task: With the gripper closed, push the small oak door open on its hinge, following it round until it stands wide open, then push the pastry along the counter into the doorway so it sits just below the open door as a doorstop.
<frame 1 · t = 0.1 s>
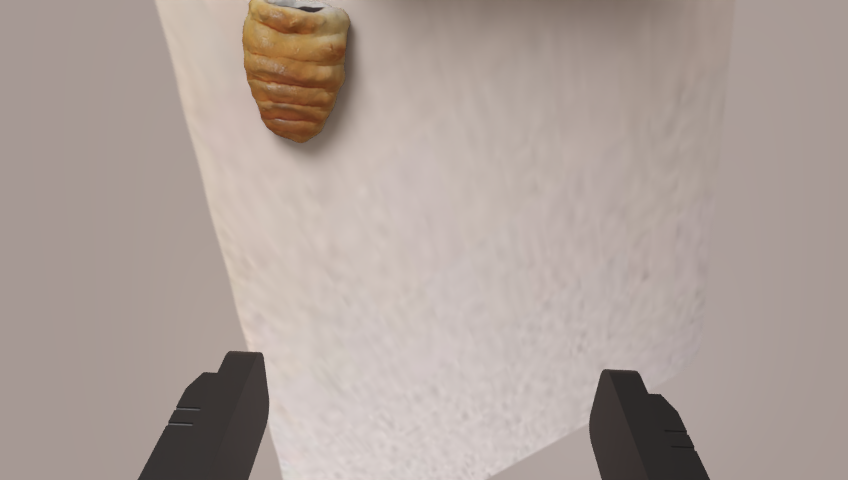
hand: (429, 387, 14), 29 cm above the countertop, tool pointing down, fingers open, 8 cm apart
pastry: (303, 57, 39), on the countertop
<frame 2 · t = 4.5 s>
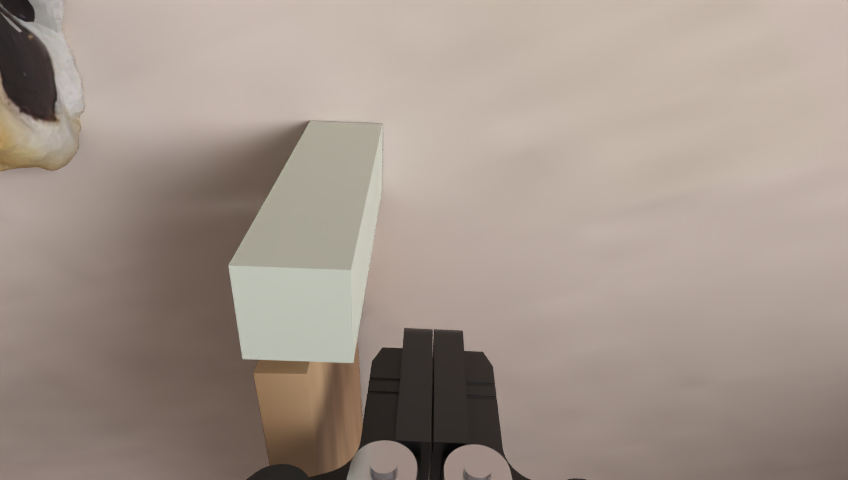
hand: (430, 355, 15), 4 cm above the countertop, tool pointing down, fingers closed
door: (316, 466, 17), point 4 cm above the countertop, hinge at 1.7°, touching gripper
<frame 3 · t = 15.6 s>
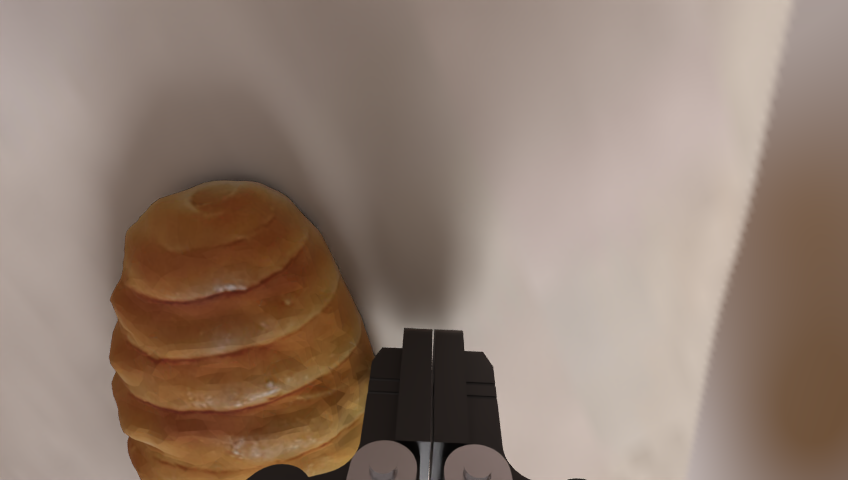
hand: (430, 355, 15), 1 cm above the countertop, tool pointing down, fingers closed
pastry: (261, 340, 16), on the countertop, touching gripper
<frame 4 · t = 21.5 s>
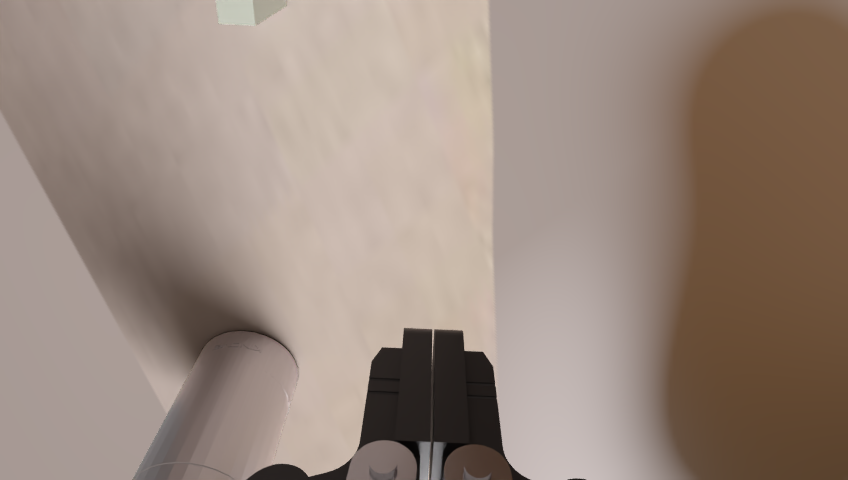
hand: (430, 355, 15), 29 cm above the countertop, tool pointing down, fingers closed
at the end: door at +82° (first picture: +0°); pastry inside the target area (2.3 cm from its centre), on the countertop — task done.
